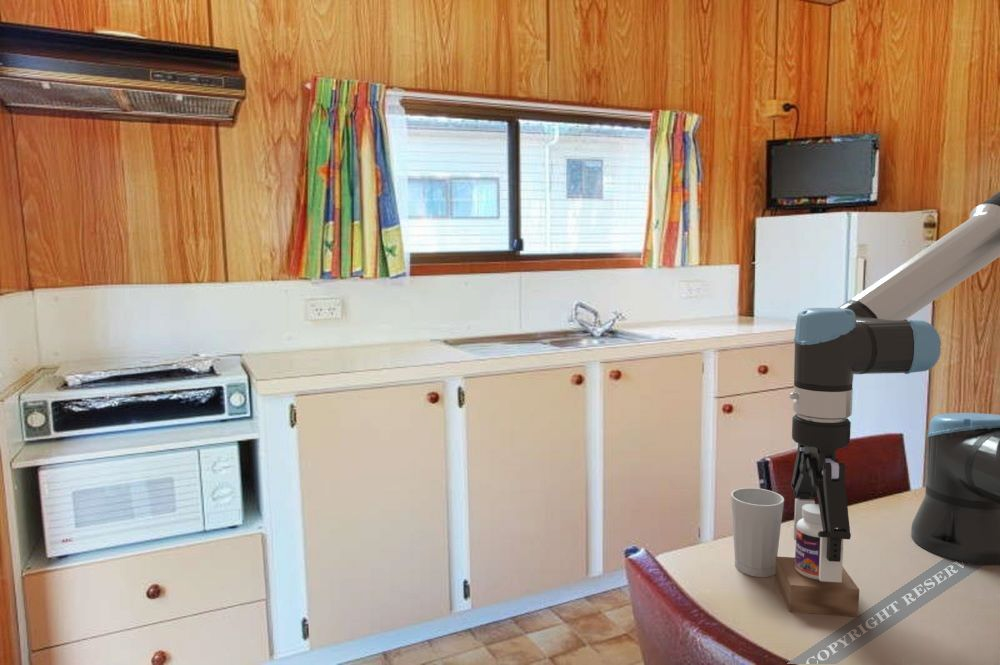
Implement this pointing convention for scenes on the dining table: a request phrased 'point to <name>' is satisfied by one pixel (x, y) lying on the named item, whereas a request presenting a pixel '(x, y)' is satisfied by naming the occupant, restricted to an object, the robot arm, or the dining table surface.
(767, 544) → the cup
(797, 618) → the dining table surface
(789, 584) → the base
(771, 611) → the dining table surface
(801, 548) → the pill bottle
